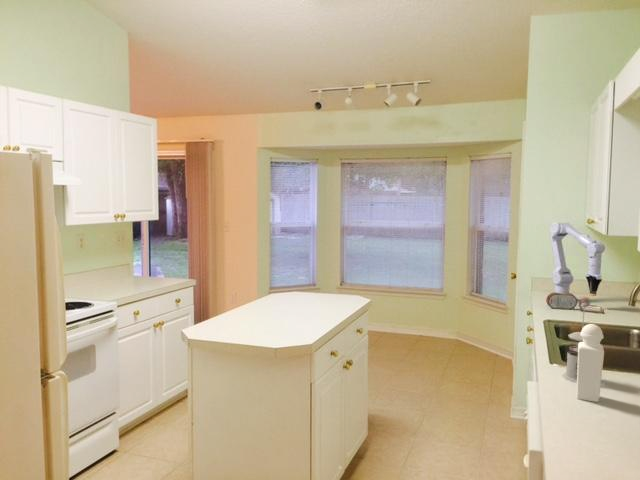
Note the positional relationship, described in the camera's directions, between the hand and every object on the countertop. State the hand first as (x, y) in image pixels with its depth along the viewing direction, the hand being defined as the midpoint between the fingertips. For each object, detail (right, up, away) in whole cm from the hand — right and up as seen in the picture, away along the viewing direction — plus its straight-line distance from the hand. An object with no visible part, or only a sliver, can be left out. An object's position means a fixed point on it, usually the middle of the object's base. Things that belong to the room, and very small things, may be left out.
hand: (592, 290), depth 268 cm
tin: (-17, -10, -1) cm, 20 cm away
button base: (-2, -9, +6) cm, 11 cm away
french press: (-59, -19, -103) cm, 120 cm away
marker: (0, -2, 0) cm, 2 cm away
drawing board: (-3, -10, -3) cm, 11 cm away
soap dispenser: (-65, -20, -118) cm, 137 cm away
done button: (-2, -7, +6) cm, 9 cm away
